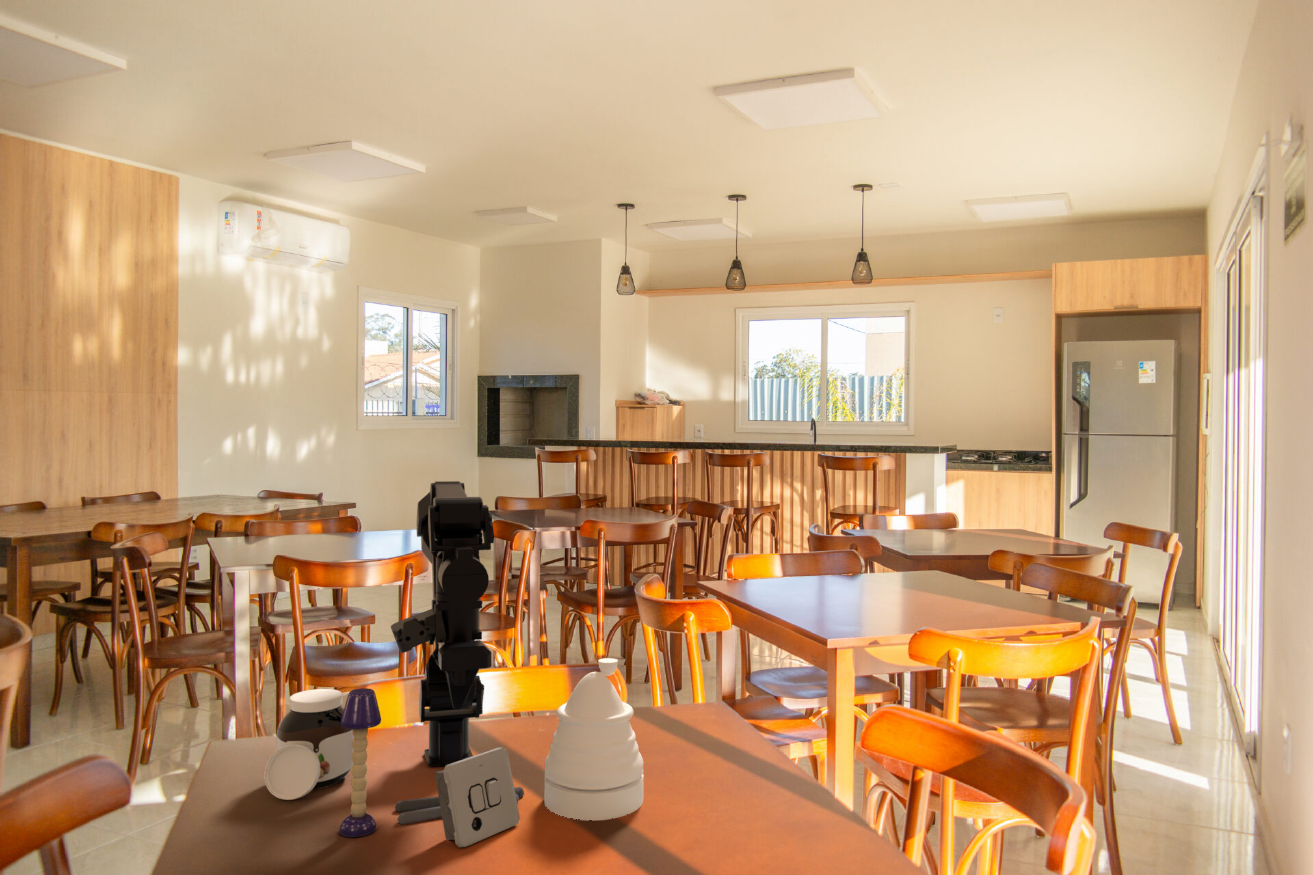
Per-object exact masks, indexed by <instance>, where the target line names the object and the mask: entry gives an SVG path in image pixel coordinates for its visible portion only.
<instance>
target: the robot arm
mask: <svg viewBox="0 0 1313 875" xmlns="http://www.w3.org/2000/svg"><path fill="white" fill-rule="evenodd" d="M483 502H484V501H483V498H482V497H481V496H468V495H467V493H466V490H465V483H464V482H461V481H460V480H458V481H457V480H456V481H454V480H451V481H450V480H449V481H448V480H446V481H444V480H443V481H441V480H439V481H436V480H435V482H430V486H429V492H428V493H426V495H425V496H423V497H422V499H420V500H419V501H418V503H417V509H416V510H417V511H416V537H418V538H419V537H420V543H421V544H420V545H421V547H420V548H421V549H420V550H421V551H422V554H423V555H424V556H425V557H426V559H427V560H428V561H429V562H430V564H431V574H432V575H431V577H432V580H431V581H432V599H431V609H428V610H425V611H422V612H419V613H417V614H413V615H411V616H409V617H406V618H404V619H401V620H399V621H397V622H395V623H393V624H391V625H390V629H391V632H392V634H393V636H394V640H395V642H396V645H397V648H398V650H399V652H400V653H401V654H404V653H407V652H409V651H411V650H413V648H415V647H418V646H420V645H422V644H425V643H428V646H432V645H433V646H434V651H433V652H432V653H431V655H430V656H429V658H428V660H427V662H426V665H425V669H424V670H425V671H424V679H423V678H422V679H420V684H419V695H418V696H419V697H418V712H419V713H418V715H419V720H420V723H425V722H428V748H426V749H424V753H423V754H424V757H425V759H426V764H427V766H428V767H437V766H446V765H449V764H451V763H454V762H457V761H460V760H463V759H466V758H469V757H472V756H474V755H473V753H472V751H471V747H470V745H469V743H470V742H469V741H470V738H469V736H470V732H469V731H470V730H469V729H470V728H469V726H470V722H469V721H470V718H471V719H472V718H475V719H479V718H480V715H483V713H484V712H483V708H484V707H483V705H484V703H483V702H484V695H485V694H484V693H485V685H484V684H483V683H482V680H481V678H480V675H478V673H479V670H483V669H490V668H491V667H492V651H491V649H490V648H489V647H488V646H487V645H486V644H485V643H484V642H483V640H482V639H483V631H482V630H481V629H480V612H481V611H480V609H483V600H482V599H481V598H482V597H483V596H484V594H485V593H486V592H487V589H488V586H489V573H488V571H487V569H486V567H485V565H484V564H483V563H482V561H481V560H480V559H481V556H480V551H491V550H492V544H494V542H495V530H494V525H493V518H492V517H493V515H492V513H491V512H490V511H489V510H490V509H489V506H488V505H487V504H484V503H483Z"/></svg>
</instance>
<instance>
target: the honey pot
mask: <svg viewBox="0 0 1313 875" xmlns="http://www.w3.org/2000/svg"><path fill="white" fill-rule="evenodd" d="M597 662H598V667H599V670H600V671H592V672H588V673H587V674H585V676H583V677H582V678H581V679H580V681H579V682H578V683H577V684H576V686H575V687H574V689H573V690H572V692H571V694H570V696H569V698H568V700H567V702H565V703H563V704H562V705H560V706H559V707H558V708H557V710H556V716H557V718H558V719H559V723H558V724H557V727H556V730H555V732H554V733H553V735H552V743H551V744H550V746H549V753H548V755H547V756H546V757H545V760H544V768H545V769H544V799H543V800H544V807H545V808H546V807H547V808H546V809H547V810H548V809H549V810H550V811H549V810H548V811H549V812H551V813H552V812H554V813H555V815H556V814H558V815H557V816H559V815H560V817H562V816H564V817H563V818H565V817H567V818H566V819H570V818H573V819H572V820H576V819H577V821H589V820H592V821H591V822H593V821H606V820H613V819H616V818H617V819H618V818H621V817H624V816H628V815H630V814H632V813H634V812H636V811H637V810H639V809H640V807H642V806H643V802H644V759H643V756H642V754H641V752H640V751H639V749H640V748H639V744H638V742H637V741H636V739H637V738H636V737H637V736H636V733H635V731H634V729H633V728H632V725H631V722H630V719H632V718H633V715H634V712H635V711H634V709H633V707H632V706H631V705H630V704H629V703H626V702H624V701H623V700H622V699H621V697H620V695H619V693H618V691H617V689H616V687H615V686H614V684H612V682H611V680H610V679H609V678H608V677H609V676H612V675H613V674H614V673H615V672H616V670H617V668H618V663H619V659H617V658H612V657H609V658H607V657H606V658H600V659H598V660H597ZM554 813H553V814H554ZM627 814H628V815H627ZM612 818H613V819H612ZM578 819H580V820H578Z"/></svg>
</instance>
